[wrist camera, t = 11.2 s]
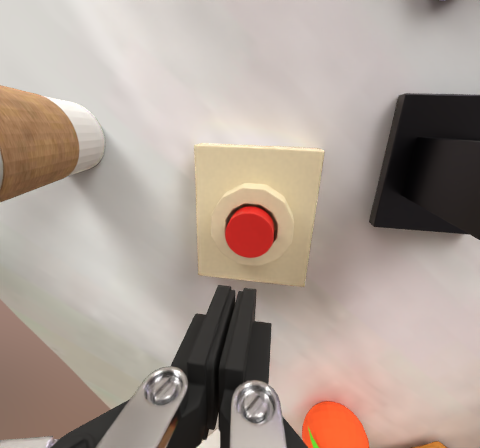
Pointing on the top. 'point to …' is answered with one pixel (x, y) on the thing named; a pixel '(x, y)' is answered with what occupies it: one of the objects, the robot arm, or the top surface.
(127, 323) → the top surface
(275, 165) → the control box
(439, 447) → the coffee package
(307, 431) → the clementine
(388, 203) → the switch bracket
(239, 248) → the button
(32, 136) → the coffee cup
